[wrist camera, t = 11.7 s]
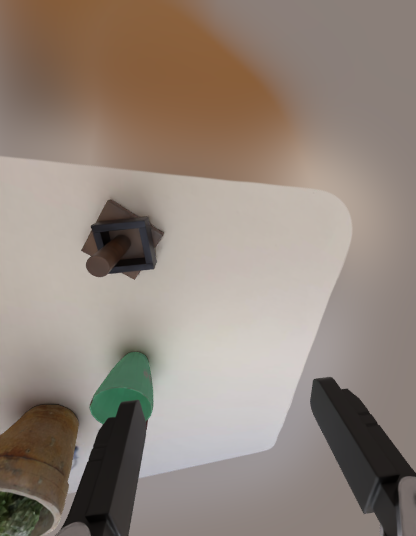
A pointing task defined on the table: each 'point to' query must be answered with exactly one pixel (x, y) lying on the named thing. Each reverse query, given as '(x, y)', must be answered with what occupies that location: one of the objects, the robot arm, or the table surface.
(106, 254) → the post
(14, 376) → the table surface
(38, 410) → the potted plant
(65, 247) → the table surface
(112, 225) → the ring
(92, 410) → the mug
